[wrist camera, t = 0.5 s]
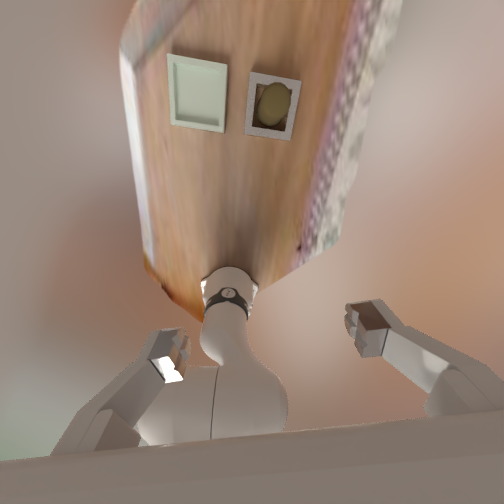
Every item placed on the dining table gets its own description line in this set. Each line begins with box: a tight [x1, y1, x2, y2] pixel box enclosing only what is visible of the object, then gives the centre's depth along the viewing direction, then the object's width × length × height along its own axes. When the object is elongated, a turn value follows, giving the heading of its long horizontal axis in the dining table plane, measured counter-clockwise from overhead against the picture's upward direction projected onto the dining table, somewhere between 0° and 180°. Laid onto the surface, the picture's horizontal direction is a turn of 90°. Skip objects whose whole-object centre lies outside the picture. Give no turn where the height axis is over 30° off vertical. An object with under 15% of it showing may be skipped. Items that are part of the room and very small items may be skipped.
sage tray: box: [167, 53, 228, 133], centre depth 39 cm, size 11×11×2 cm
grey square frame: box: [244, 72, 302, 141], centre depth 41 cm, size 10×10×2 cm
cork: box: [256, 82, 291, 127], centre depth 37 cm, size 6×6×11 cm
